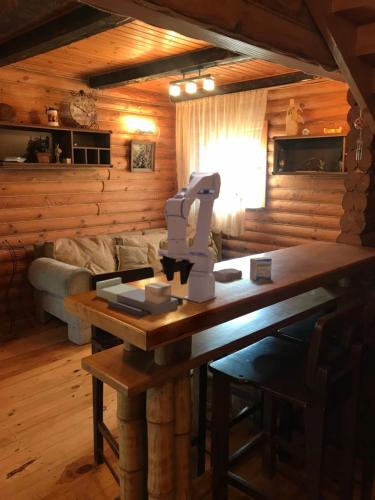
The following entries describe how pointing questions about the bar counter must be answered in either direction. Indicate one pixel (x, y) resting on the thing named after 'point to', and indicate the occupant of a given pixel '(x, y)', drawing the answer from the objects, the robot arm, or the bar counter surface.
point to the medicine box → (260, 268)
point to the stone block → (227, 274)
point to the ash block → (158, 292)
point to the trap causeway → (132, 299)
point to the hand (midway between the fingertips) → (177, 282)
